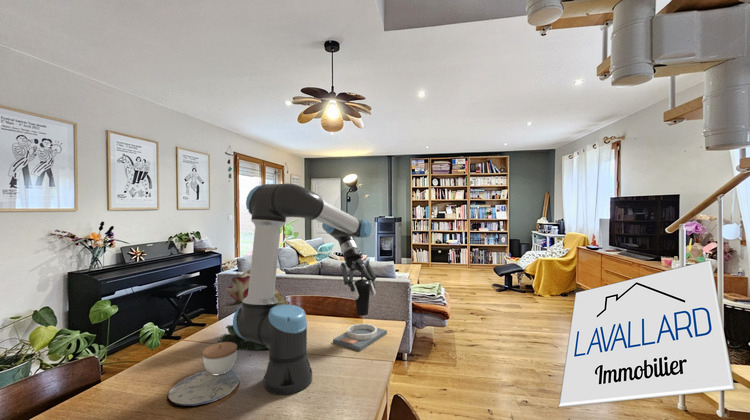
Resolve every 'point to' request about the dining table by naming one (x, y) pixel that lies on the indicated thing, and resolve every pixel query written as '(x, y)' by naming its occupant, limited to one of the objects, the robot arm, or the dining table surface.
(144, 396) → the dining table surface
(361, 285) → the drinking cup
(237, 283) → the rose bouquet
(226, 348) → the lidded jar
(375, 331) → the ring board
